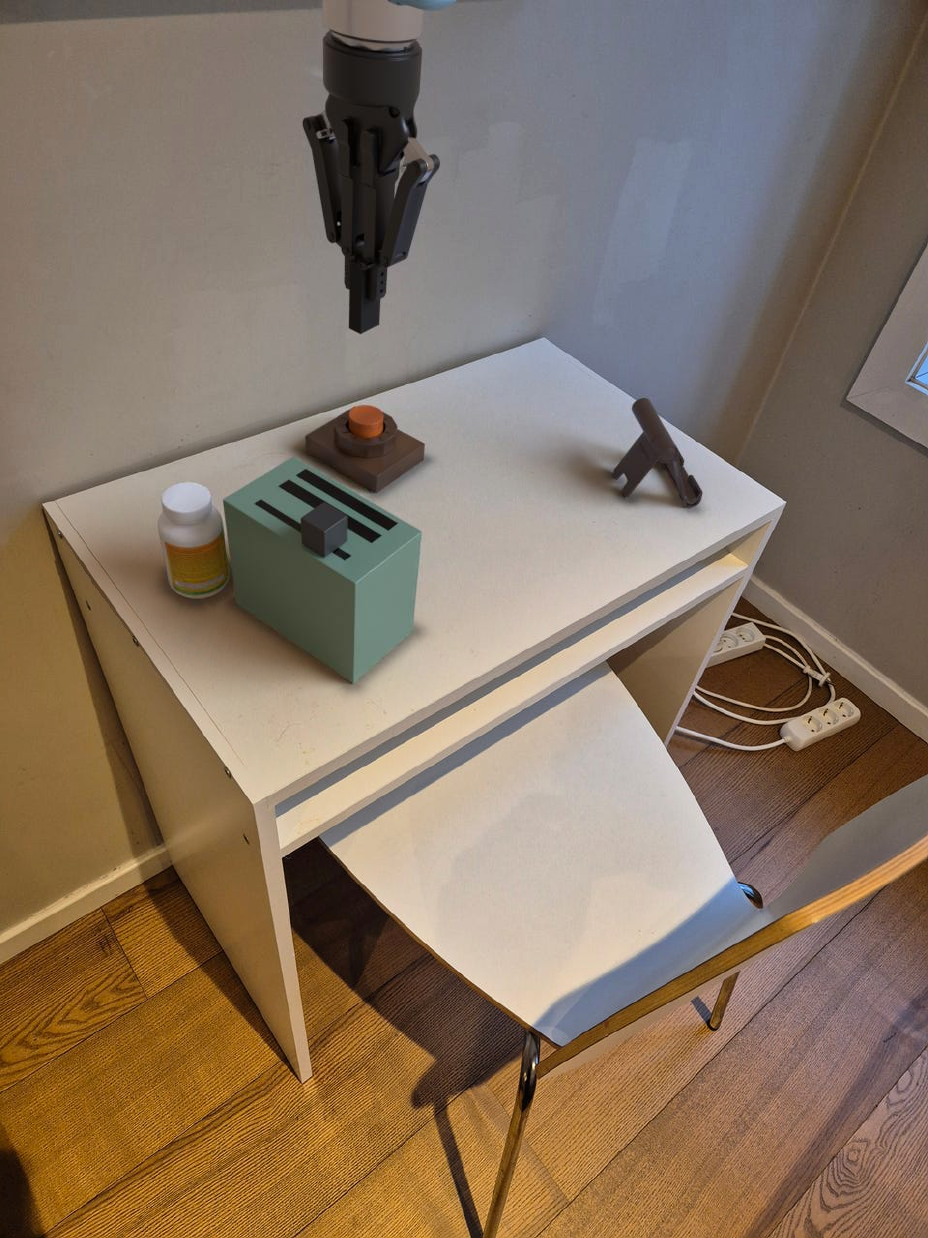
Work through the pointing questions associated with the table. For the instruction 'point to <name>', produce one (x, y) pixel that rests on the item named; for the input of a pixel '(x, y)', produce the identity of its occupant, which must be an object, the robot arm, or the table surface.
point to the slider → (324, 529)
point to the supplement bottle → (193, 541)
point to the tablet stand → (656, 456)
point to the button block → (365, 451)
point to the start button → (366, 421)
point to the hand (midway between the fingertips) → (364, 326)
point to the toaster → (323, 568)
